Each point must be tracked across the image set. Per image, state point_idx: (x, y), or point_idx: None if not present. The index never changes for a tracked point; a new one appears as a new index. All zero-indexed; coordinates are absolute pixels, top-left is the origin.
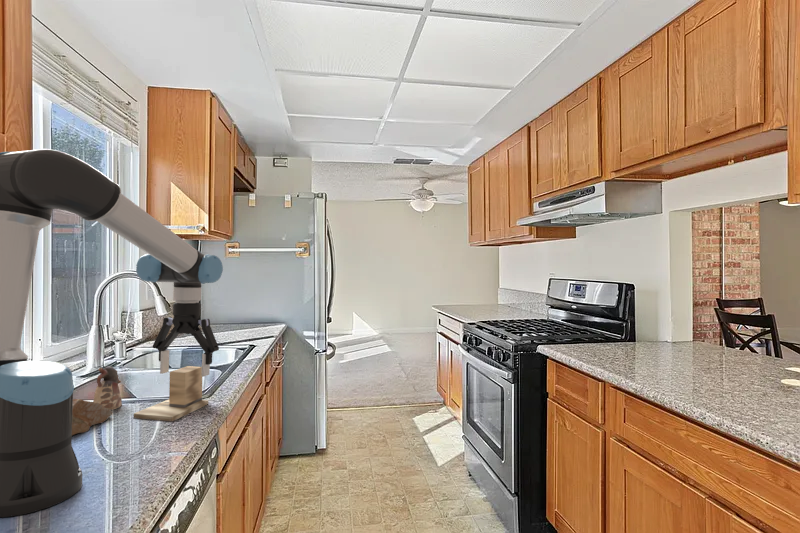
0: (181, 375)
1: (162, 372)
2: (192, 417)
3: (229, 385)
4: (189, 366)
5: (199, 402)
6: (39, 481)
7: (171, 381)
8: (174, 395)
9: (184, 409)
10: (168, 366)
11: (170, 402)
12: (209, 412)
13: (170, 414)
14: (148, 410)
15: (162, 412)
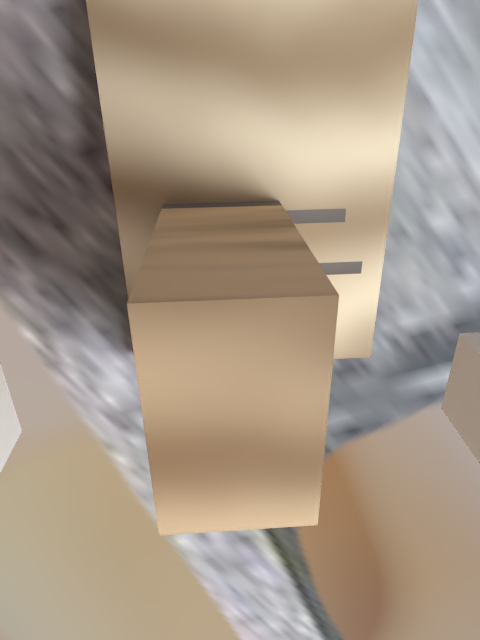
0: (178, 287)
1: (465, 342)
2: (32, 114)
3: (255, 593)
4: (292, 518)
5: None
6: None
7: (292, 256)
8: (246, 222)
9: (135, 171)
10: (467, 440)
11: (272, 206)
12: (14, 234)
13: (141, 36)
14: (357, 80)
15: (231, 65)
